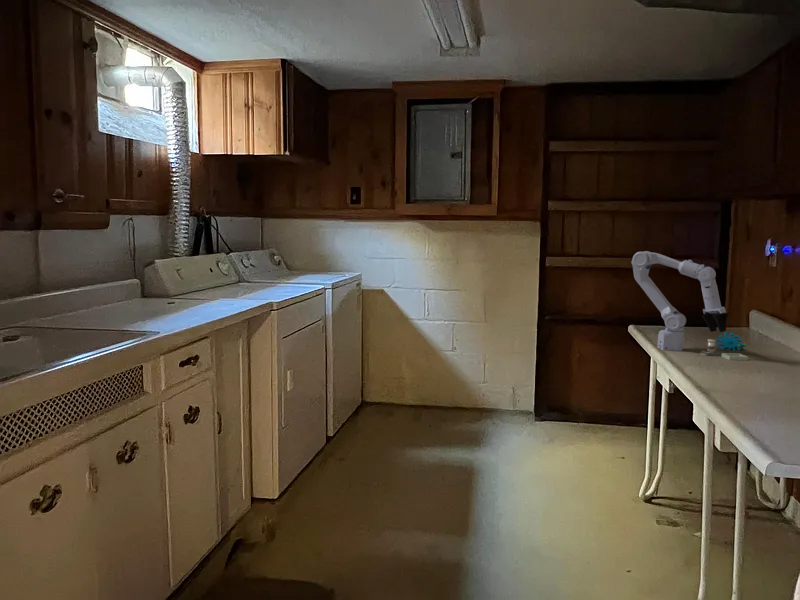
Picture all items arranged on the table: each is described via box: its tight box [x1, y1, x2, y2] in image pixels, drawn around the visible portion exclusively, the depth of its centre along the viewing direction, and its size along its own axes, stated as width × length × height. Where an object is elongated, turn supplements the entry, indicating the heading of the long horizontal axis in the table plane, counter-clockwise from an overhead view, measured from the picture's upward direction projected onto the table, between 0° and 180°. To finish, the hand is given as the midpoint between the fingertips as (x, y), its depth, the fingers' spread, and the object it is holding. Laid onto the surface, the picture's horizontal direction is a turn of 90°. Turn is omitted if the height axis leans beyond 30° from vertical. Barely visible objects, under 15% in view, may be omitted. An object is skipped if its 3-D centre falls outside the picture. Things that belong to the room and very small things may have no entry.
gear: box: [715, 332, 747, 352], centre depth 280 cm, size 11×6×10 cm
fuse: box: [706, 338, 717, 353], centre depth 266 cm, size 3×3×6 cm
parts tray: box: [721, 352, 749, 361], centre depth 259 cm, size 7×6×2 cm
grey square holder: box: [699, 349, 722, 357], centre depth 266 cm, size 7×6×2 cm
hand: (718, 331), depth 265 cm, fingers open, 7 cm apart
